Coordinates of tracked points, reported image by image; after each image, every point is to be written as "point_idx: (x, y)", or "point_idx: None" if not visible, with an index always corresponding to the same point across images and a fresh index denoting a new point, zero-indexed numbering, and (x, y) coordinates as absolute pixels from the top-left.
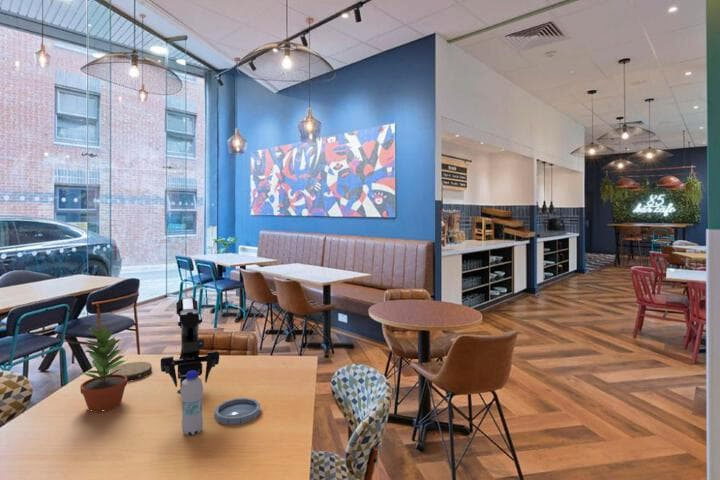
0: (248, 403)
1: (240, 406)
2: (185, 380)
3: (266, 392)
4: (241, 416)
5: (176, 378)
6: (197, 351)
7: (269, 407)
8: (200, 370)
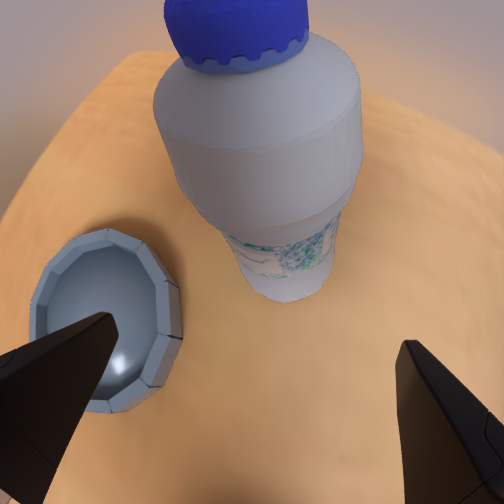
0: None
1: None
2: (319, 48)
3: None
4: (102, 236)
5: (432, 392)
6: None
7: (26, 306)
8: None
